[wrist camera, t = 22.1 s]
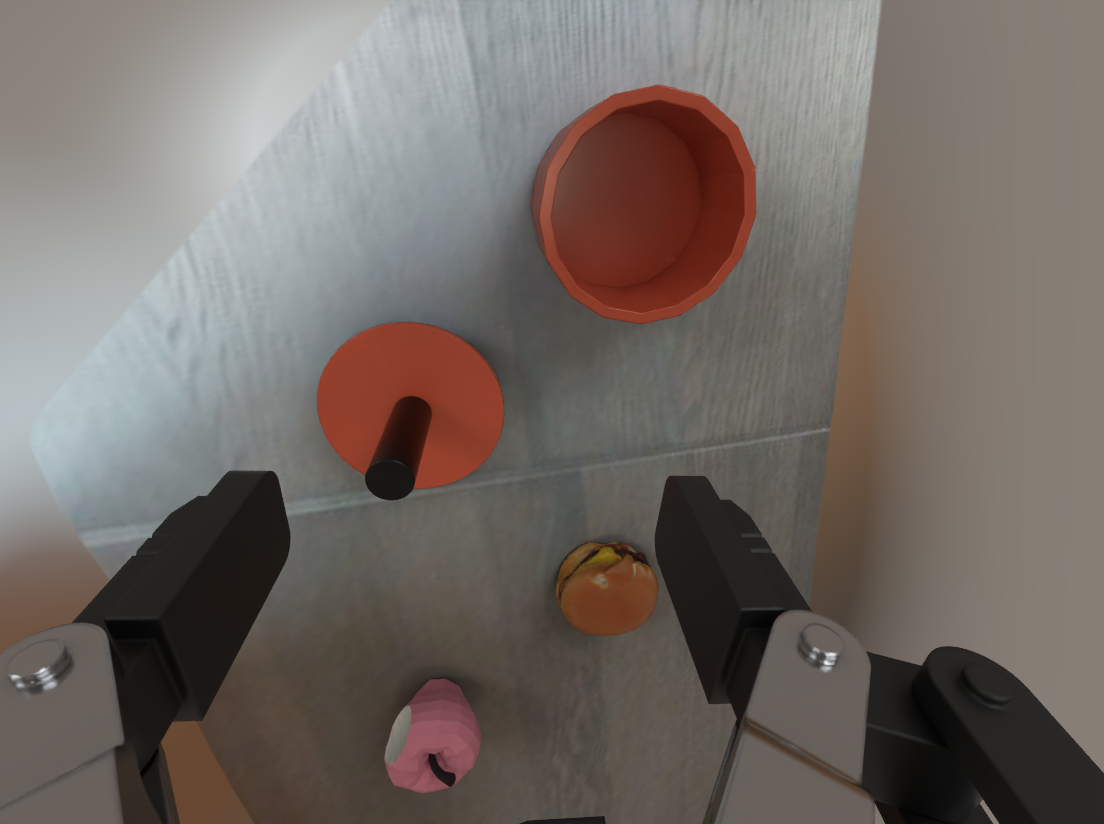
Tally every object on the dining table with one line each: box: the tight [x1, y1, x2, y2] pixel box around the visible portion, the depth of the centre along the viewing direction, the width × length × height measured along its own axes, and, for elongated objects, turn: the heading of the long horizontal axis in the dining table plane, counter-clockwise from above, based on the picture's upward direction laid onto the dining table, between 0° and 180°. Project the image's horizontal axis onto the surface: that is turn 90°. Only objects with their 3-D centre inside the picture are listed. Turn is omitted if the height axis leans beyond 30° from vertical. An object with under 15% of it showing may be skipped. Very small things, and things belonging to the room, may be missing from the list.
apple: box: [385, 679, 481, 793], centre depth 51 cm, size 10×9×10 cm
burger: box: [556, 542, 659, 636], centre depth 48 cm, size 10×9×5 cm
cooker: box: [531, 85, 756, 324], centre depth 32 cm, size 12×12×8 cm
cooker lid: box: [317, 322, 504, 500], centre depth 34 cm, size 13×13×10 cm
